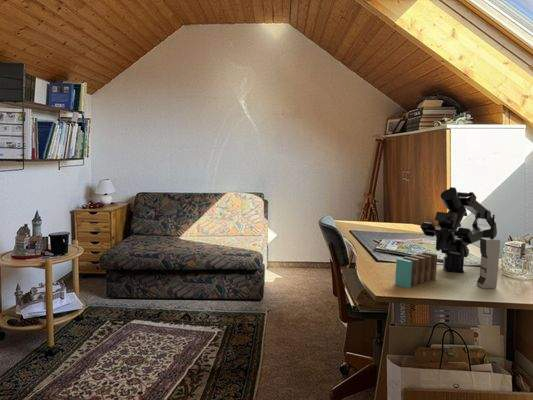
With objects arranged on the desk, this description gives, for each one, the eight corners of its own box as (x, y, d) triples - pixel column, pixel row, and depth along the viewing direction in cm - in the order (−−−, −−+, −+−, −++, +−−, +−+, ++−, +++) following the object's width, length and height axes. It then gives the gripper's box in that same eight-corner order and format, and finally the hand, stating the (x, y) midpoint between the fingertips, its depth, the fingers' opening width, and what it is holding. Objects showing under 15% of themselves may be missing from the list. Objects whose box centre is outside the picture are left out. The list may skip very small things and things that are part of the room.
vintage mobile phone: (476, 285, 148) (481, 213, 145) (489, 285, 148) (495, 213, 146) (482, 288, 144) (488, 215, 142) (496, 288, 145) (502, 215, 142)
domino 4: (417, 277, 155) (418, 253, 154) (429, 281, 151) (431, 256, 150) (414, 278, 154) (416, 254, 153) (427, 282, 150) (429, 257, 149)
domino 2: (404, 281, 150) (405, 256, 149) (417, 285, 146) (418, 259, 145) (401, 282, 149) (403, 257, 148) (414, 286, 145) (416, 260, 144)
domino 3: (410, 279, 153) (412, 255, 152) (423, 283, 149) (425, 257, 148) (408, 280, 152) (409, 255, 151) (421, 284, 148) (422, 258, 147)
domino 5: (423, 276, 158) (424, 252, 157) (435, 279, 154) (437, 254, 153) (420, 276, 157) (422, 252, 156) (433, 280, 153) (435, 255, 152)
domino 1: (397, 283, 148) (399, 258, 147) (410, 287, 144) (412, 261, 143) (395, 284, 147) (396, 258, 146) (408, 288, 143) (409, 261, 142)
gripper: (424, 201, 166) (406, 232, 160) (472, 206, 152) (454, 241, 146) (433, 219, 172) (417, 250, 166) (481, 226, 157) (464, 260, 152)
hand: (437, 250), depth 157 cm, fingers closed
